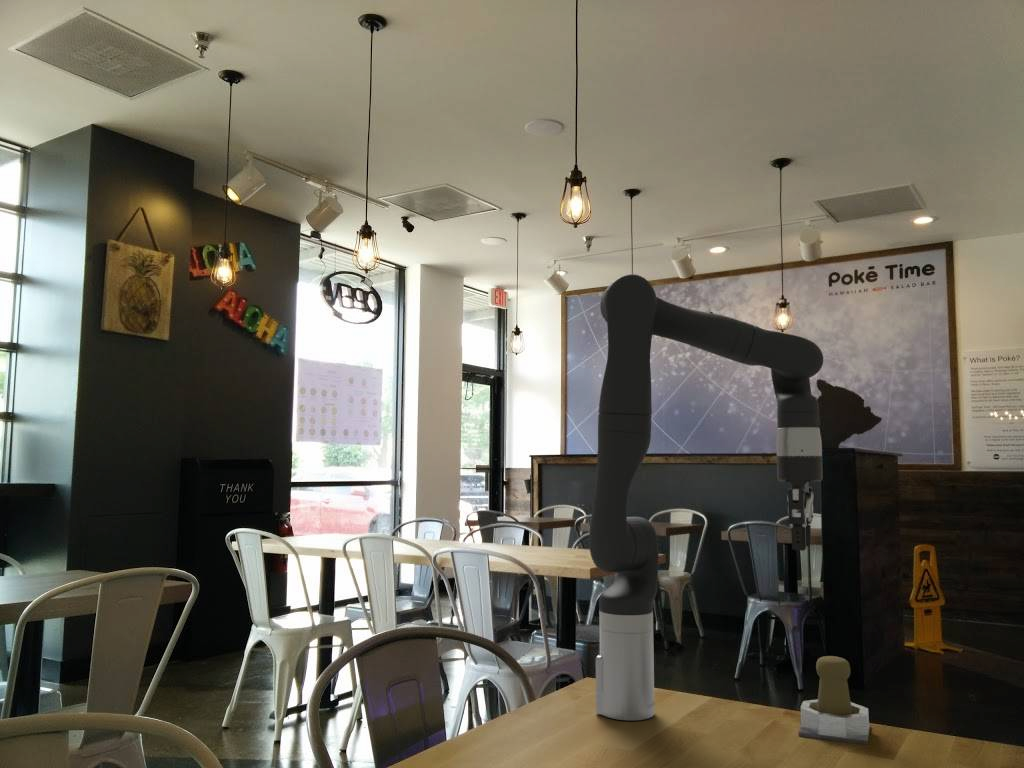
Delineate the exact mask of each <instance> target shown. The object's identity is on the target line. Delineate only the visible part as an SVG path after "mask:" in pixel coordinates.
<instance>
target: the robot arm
mask: <svg viewBox="0 0 1024 768" xmlns="http://www.w3.org/2000/svg"><path fill="white" fill-rule="evenodd" d="M656 295H657V294H656V291H655V289H654V287H653V284H651V283H650V282H649V280H647V279H646V278H645V277H644V276H641V275H638V274H635V273H630V274H625V275H621V276H619V277H618V278H616V279H614V280H613V281H612V282H611V283H610V284H609V285H608V286H607V287H606V289H605V290H604V292H603V294H602V296H601V299H600V303H599V305H600V307H599V309H600V313H601V317H602V319H604V320H605V322H606V324H607V325H606V326H607V357H606V358H607V360H606V365H605V369H604V374H603V379H602V385H601V390H600V396H599V404H598V415H597V417H598V418H597V456H596V457H597V461H596V473H595V474H596V475H595V476H596V477H595V486H594V487H595V488H594V496H593V504H592V511H591V518H590V526H589V534H588V535H589V536H588V537H589V539H588V540H589V541H588V544H589V545H588V546H589V553H590V557H591V559H592V561H593V564H594V565H595V567H596V568H597V569H599V570H600V571H601V572H605V573H617V574H616V578H615V580H614V582H613V583H611V585H610V586H608V587H607V588H606V589H605V590H604V591H602V592H601V593H600V595H599V599H598V607H599V609H598V611H599V615H598V616H599V623H598V624H599V654H598V655H597V656H596V657H595V714H596V715H601V716H604V717H606V718H609V719H614V720H620V721H642V720H648V719H650V718H653V716H654V715H655V670H654V669H655V668H654V667H655V666H654V665H655V661H654V660H655V659H654V656H655V654H654V651H655V650H654V603H655V602H654V601H655V599H656V596H657V592H658V579H659V556H660V555H659V551H660V550H659V539H658V535H657V532H656V530H655V527H654V526H653V525H652V523H651V522H650V521H649V520H648V519H647V518H645V517H642V516H628V503H629V502H628V501H629V493H630V490H631V486H632V483H633V481H634V480H635V477H636V475H637V473H638V471H639V469H640V467H641V465H642V464H643V461H644V459H645V458H646V455H647V453H648V450H649V448H650V445H651V439H652V437H651V436H652V414H653V413H652V411H653V409H652V407H653V406H652V405H653V404H652V403H653V402H652V373H651V372H652V371H651V370H652V369H651V349H652V348H651V347H652V340H653V336H657V337H661V338H664V339H668V340H672V341H675V342H679V343H682V344H686V345H689V346H690V347H694V348H697V349H699V350H702V351H705V352H708V353H710V354H713V355H716V356H719V357H722V358H725V359H728V360H730V361H733V362H736V363H740V364H741V365H743V364H744V365H747V366H750V367H751V366H752V367H753V366H755V367H756V366H760V367H765V368H768V369H770V374H771V375H770V376H771V381H772V385H773V390H774V396H775V399H776V408H777V409H776V414H777V415H776V416H777V418H776V419H777V420H776V421H777V433H776V474H777V480H778V481H779V482H789V483H790V485H791V486H790V488H787V496H786V499H787V513H788V519H787V522H788V525H789V526H790V527H789V528H791V549H792V550H794V551H801V552H803V551H805V550H806V549H807V547H810V546H811V545H812V527H811V525H812V523H813V519H814V504H813V503H814V492H813V488H812V486H809V483H812V482H813V483H814V482H816V483H817V482H821V481H823V479H824V478H823V477H824V476H823V474H824V473H823V447H822V443H823V442H822V437H821V436H822V435H821V430H820V405H819V401H818V399H817V397H816V396H815V395H813V394H812V388H811V387H812V386H811V382H810V379H811V378H812V377H814V376H816V375H817V374H818V373H819V372H820V370H821V369H822V367H823V365H824V354H823V352H822V349H821V348H820V346H818V345H817V344H816V343H815V342H813V341H812V340H810V339H807V338H805V337H802V336H798V335H794V334H790V333H785V332H780V331H777V330H776V331H773V330H768V329H765V328H762V327H759V326H757V325H753V324H752V323H751V324H750V323H748V322H746V321H742V320H739V319H736V318H733V317H729V316H726V315H722V314H717V313H712V312H708V311H707V312H706V311H700V310H696V309H692V308H687V307H684V306H681V305H677V304H674V303H671V302H668V301H667V300H663V299H661V298H660V297H658V296H656Z"/></svg>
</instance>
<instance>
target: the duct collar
mask: <svg viewBox="0 0 1024 768" xmlns="http://www.w3.org/2000/svg"><path fill="white" fill-rule="evenodd" d="M817 702H818V698H817V699H810V700H803V701H802V703H801V705H800V727H799V730H798V737H804V738H811V739H819V740H826V741H835V742H841V743H843V742H844V743H851V744H856V745H857V744H858V745H865V746H868V745H869V744H868V743H869V737H870V729H871V723H870V721H869V719H870V718H869V708H868V707H865V706H863V705H860V704H857V703H854V702H852V701H850V702H851V708H852V714H851V715H834V714H826V713H821V712H818V711H817ZM869 724H870V725H869Z"/></svg>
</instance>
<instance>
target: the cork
mask: <svg viewBox="0 0 1024 768" xmlns="http://www.w3.org/2000/svg"><path fill="white" fill-rule="evenodd" d="M815 663H816V665H815V669H816V674H817V675H818V676H819V684H818V694H817V699H818V702H817V711H818V712H821V713H826V714H834V715H851V714H852V708H851V702H852V701H851V697H850V690H849V684H848V679H849V678H850V675H851V667H850V666H851V665H850V662H849V661H848V659H847V660H846V659H845V658H843V657H839V656H834V655H826V656H821V657H819V658H818V659H817V661H816V662H815Z"/></svg>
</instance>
